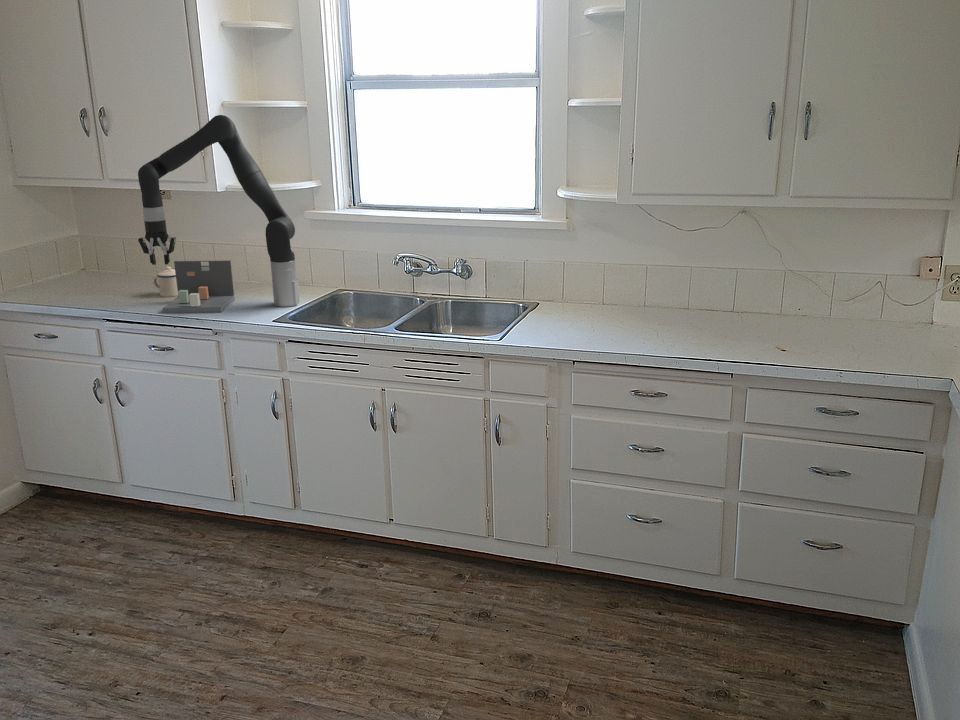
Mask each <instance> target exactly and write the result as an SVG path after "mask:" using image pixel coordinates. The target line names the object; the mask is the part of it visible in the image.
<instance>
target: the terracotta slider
mask: <svg viewBox="0 0 960 720" xmlns="http://www.w3.org/2000/svg"><path fill="white" fill-rule="evenodd" d="M198 292H199V297H200V299H208V298H209V293H208V286H206V287H199V288H198Z"/></svg>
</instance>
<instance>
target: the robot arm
mask: <svg viewBox="0 0 960 720" xmlns="http://www.w3.org/2000/svg"><path fill="white" fill-rule="evenodd" d="M216 143H218V144H219V145H220V147H221V148H222V150H223V151H224V152H225V154H226V156H227V158H228V160H229V162H230V165H231V168H232V170H233V172H234V175H235V177H236V179H237V181H238V183H239V184H240V186H241V188H242V190H243V191H244V193H245V195H247V197H249V199H250V200H251V201H252V203H254V204H255V205H256V206H257V207H258V208H259V209H260V210H261V211H262V212H263V214H264V215H265V217H266V220H267V221H268V223H267V224H266V227H265V241H266V242H265V243H266V250H267V255H268V257H269V259H270V260H269V261H270V271H271V272H270V274H271V284H272V294H273V295H272V296H273V305H274V306H275V307H293V306H297V305H298V304H299V303H300V293H299V292H300V290H299V281H298V278H297V273H296V259H295V257H296V256H295V252H294V251H293V250H292V247H291V239H293V237H294V236H295V234H296V227H295V224H294V222H293V221H292V219H291V218H290V217H289V215H288V214H287V212H286V210H284V208H283V206H282V205H281V204H280V202H279V200H278V199H277V197H276V195H275V193H274V191H273V189H272V187H271V186H270V185H269V182H268V181H267V178H266V177H265V175H264V173H263V172H262V170H261V168H260V167H259V165H258V164H257V162H256V161H255V159H254V158H253V157H252V155H251V153H249V151H248V149H247V148H246V147H245V144H244V143H243V141H242V139H241V137H240V134H239V132H238V130H237V128H236V124H235V123H234V121H233V120H232V119H231V118H230V117H228V116H227V115H223V114H218V115H215V116H213V117H212V118H211V119H210V120H209V121H208V122H207V123H205V125H203V126H202V127H201V128H200V129H198V130H197V131H196V132H195V133H193V134H192V135H190V136H188V137H187V138H186V139H184V140H182V141H181V142H179V143H177V144H175V145H174V146H172V147H170V148H169V149H168V150H166V151H163V152H162V153H161V154H160V155H159V156H156V158H154V159H151V160H150V161H148V162H146V163H144V164H143V165H142V166H141V167H140V168H139V169H138V172H137V177H138V184H139V188H140V192H141V202H142V215H143V217H142V218H143V223H144V229H145V236H143V237H142V236H141V237H139V238H138V239H137V241H138V244H139V245H140V247H141V250H142V251H143V253H144V254H147V255H149V261H150V264H152V265H153V266H155V265H156V264H157V261H156V254H155V248H156V247H160V250H161V251H162V252H163V258H164V259H163V260H164V265H169V263H170V261H171V259H170V254H171V253H173V252H174V251H175V247H176V240H177V237H176V236H170V235H169V234H168V230H167V224H166V223H167V222H166V213H165V209H164V204H163V203H164V202H163V197H162V192H161V190H160V189H161V188H160V179H161V178H162V177H165V175H167V174H169V173H170V172H171V173H172V172H174V171H175V170H177V169H179V168H181V167H182V166H183V165H185V164H186V163H188V162H190V161H191V160H192V159H193V158H195V156H197V155H198V154H199V153H201V152H202V151H204V150H205V149H206V148H208V147H210V146H211V145H214V144H216ZM167 241H168V243H169V246H168V245H167ZM146 242H148V243H149V247H148V245H147V243H146Z"/></svg>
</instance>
